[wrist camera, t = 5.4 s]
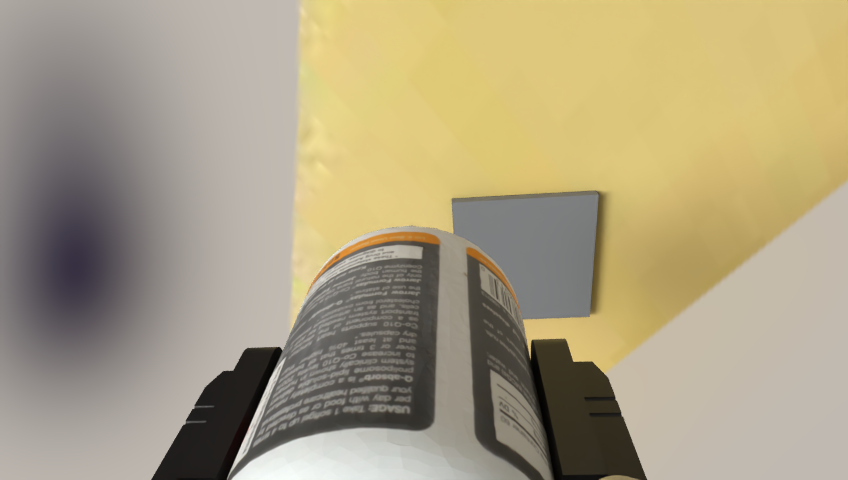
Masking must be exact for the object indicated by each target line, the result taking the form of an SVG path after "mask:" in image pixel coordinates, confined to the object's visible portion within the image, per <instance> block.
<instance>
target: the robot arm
mask: <svg viewBox="0 0 848 480" xmlns="http://www.w3.org/2000/svg"><path fill="white" fill-rule="evenodd" d="M282 352H283V351H282V349H281V348H280V347H264V348H247V349H246V350H245V351H244V352H243V354H242V356H241V357H240V359H239V362H238V363H237V365H236V367H235V369H234V370H233V371H223V372H222V373H221V374H220V375H218V376H217V377H216V378H215V379H214V380H213V381H212V382H211V383H209V384H208V385H207V386H206V387H205V389H204V390H203V392H202V394H201V395H200V397H199V399H198V401H197V402H196V404H195V408H194V409H192V411H191V413H190V414H189V416H188V418H187V419H186V424H185V425H183V426H182V428H181V430H180V431H179V433H178V435H177V437H176V438H175V440H174V442H173V444H172V445H171V447H170V448H169V450H168V452H167V454H166V455H165V457H164V459H163V460H162V462H161V464H160V466H159V467H158V469H157V471H156V473H155V474H154V476H153V478H152V479H151V480H227V478H228V475H229V473H230V470H231V468H232V466H233V463H234V461H235V459H236V457H237V454H238V452H239V450H240V447H241V445H242V442H243V440H244V438H245V436H246V434H247V431H248V429H249V426H250V424H251V422H252V419H253V417H254V415H255V413H256V410H257V408H258V406H259V404H260V401H261V399H262V397H263V394H264V392H265V390H266V387H267V385H268V383H269V380H270V378H271V376H272V374H273V372H274V369H275V367H276V365H277V363H278V361H279V359H280V356H281V354H282ZM531 365H532V369H533V374H534V379H535V384H536V389H537V393H538V398H539V402H540V407H541V412H542V417H543V422H544V427H545V431H546V434H547V440H548V446H549V452H550V456H551V462H552V467H553V473H554V478H555V480H647V478H646V476H645V474H644V471H643V468H642V466H641V463H640V460H639V458H638V455H637V452H636V450H635V447H634V445H633V442H632V439H631V437H630V434H629V431H628V429H627V426H626V424H625V421H624V418H623V417H622V415H621V410H620V408H619V405H618V403H617V401H616V400H615V395H614V392H613V389H612V387H611V384H610V382H609V379H608V377H607V376H606V375H605V374H604V373H603V372H602V371H601V370H600V369H599V368H598V367H597V366H596V365H595V364H594V363H593V362H573V360H572V356H571V353H570V350H569V347H568V344H567V341H566V339H543V340H532V342H531Z"/></svg>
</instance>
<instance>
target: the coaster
mask: <svg viewBox="0 0 848 480" xmlns="http://www.w3.org/2000/svg"><path fill="white" fill-rule="evenodd" d="M598 197H599V194H598V193H597V191H581V192H563V193H545V194H527V195H509V196H491V197H472V198H454V199H452V212H453V230H454V234H455V235H457V236H459V237H462V238H464V239H466V240H468V241H470V242H471V243H473V244H474V245H476V246H478V247H479V248H480V249H481V250H482V251H483V252H485V253H486V254H487V255H488V256H489V257H490V258H492V259H493V260H494V261H495V262H496V263H497V265H498V266H499V267H500V268H501V269H502V270H503V272H504V274H505V275H506V277H507V278H508V280H509V282H510V284H511V286H512V288H513V290H514V292H515V295H516V298H517V301H518V305H519V308H520V312H521V316H522V319H544V318H570V317H590V306H591V293H592V279H593V265H594V252H595V238H596V224H597V211H598Z"/></svg>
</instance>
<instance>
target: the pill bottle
mask: <svg viewBox="0 0 848 480" xmlns="http://www.w3.org/2000/svg"><path fill="white" fill-rule="evenodd" d="M227 480H555V478H554V473H553V467H552V462H551V456H550V452H549V446H548V440H547V434H546V431H545V427H544V422H543V417H542V412H541V407H540V402H539V398H538V393H537V389H536V384H535V379H534V374H533V369H532V365H531V360H530V356H529V351H528V345H527V339H526V335H525V328H524V324H523V320H522V316H521V312H520V308H519V305H518V301H517V298H516V295H515V292H514V290H513V288H512V286H511V284H510V282H509V280H508V278H507V277H506V275H505V274H504V272H503V270H502V269H501V268H500V267H499V266H498V265H497V263H496V262H495V261H494V260H493V259H492V258H490V257H489V256H488V255H487V254H486V253H485V252H483V251H482V250H481V249H480V248H479V247H478V246H476V245H474V244H473V243H471V242H470V241H468V240H466V239H464V238H462V237H459V236H457V235H455V234H452V233H449V232H446V231H442V230H439V229H435V228H428V227H417V226H404V227H392V228H386V229H381V230H377V231H374V232H370V233H367V234H364V235H362V236H360V237H358V238H356V239H354V240H352V241H350V242H349V243H347V244H346V245H344V246H343V247H342V248H340V249H339V250H338V251H336V252H335V253H334V254H333V255H332V256H331V257H330V258H329V259H328V260H327V261H326V262H325V264H324V265H323V266H322V268H321V269H320V270H319V272H318V273H317V275H316V277H315V278H314V280H313V282H312V284H311V286H310V288H309V290H308V293H307V295H306V297H305V299H304V302H303V304H302V306H301V309H300V311H299V313H298V316H297V319H296V321H295V324H294V327H293V329H292V331H291V333H290V335H289V338H288V340H287V343H286V345H285V347H284V349H283V352H282V354H281V356H280V359H279V361H278V363H277V365H276V367H275V369H274V372H273V374H272V376H271V378H270V380H269V383H268V385H267V387H266V390H265V392H264V394H263V397H262V399H261V401H260V404H259V406H258V408H257V410H256V413H255V415H254V417H253V419H252V422H251V424H250V426H249V429H248V431H247V434H246V436H245V438H244V440H243V442H242V445H241V447H240V450H239V452H238V454H237V457H236V459H235V461H234V463H233V466H232V468H231V470H230V473H229V475H228V478H227Z"/></svg>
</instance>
